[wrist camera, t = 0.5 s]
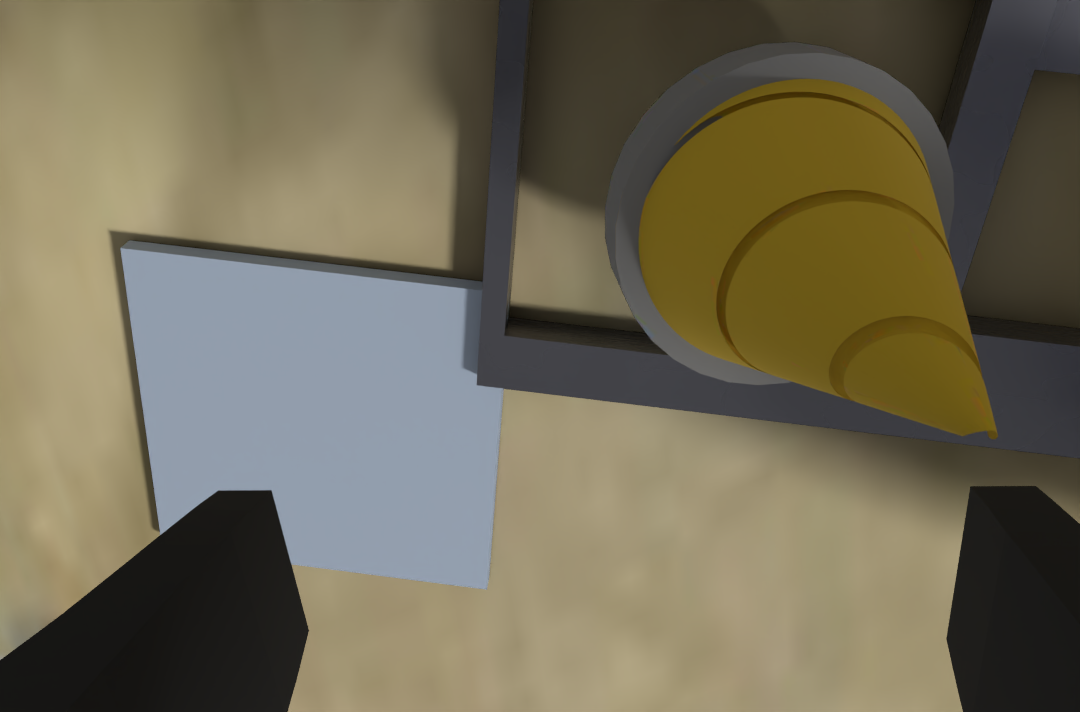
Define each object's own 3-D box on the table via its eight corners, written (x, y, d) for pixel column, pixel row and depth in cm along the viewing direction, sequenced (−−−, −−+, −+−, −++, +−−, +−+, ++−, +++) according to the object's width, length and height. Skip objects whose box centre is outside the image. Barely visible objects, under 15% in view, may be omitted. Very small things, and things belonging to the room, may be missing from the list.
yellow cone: (540, 77, 18) (664, 295, 9) (829, -29, 18) (1255, 87, 9) (625, 333, 20) (788, 706, 11) (880, 243, 20) (1254, 552, 11)
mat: (511, 284, 21) (509, 293, 20) (489, 577, 25) (486, 589, 24) (129, 240, 21) (120, 248, 21) (168, 536, 25) (162, 547, 25)
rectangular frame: (1388, -68, 16) (1421, -60, 15) (1145, 445, 21) (1161, 468, 20) (515, -155, 17) (508, -152, 16) (481, 365, 22) (476, 385, 21)
